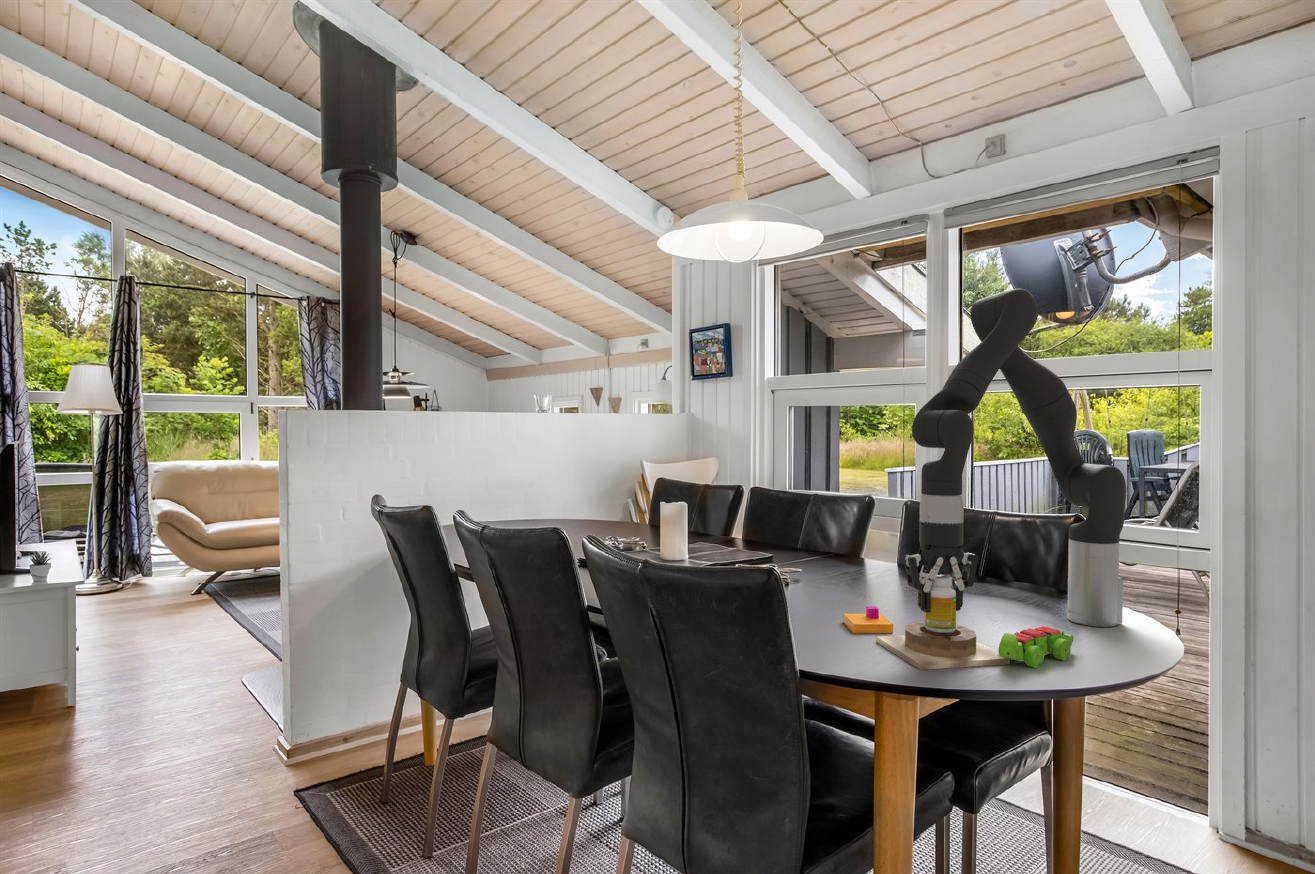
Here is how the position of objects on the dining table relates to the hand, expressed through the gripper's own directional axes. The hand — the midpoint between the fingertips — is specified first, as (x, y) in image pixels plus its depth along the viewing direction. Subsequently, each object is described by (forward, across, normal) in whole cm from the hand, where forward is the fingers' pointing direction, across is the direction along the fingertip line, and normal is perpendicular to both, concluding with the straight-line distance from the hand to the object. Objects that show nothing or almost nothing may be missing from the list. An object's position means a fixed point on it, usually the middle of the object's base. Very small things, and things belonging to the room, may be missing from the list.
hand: (940, 610), depth 136 cm
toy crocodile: (+8, -15, +6) cm, 18 cm away
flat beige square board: (+8, 0, 0) cm, 8 cm away
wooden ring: (+7, 0, 0) cm, 7 cm away
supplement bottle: (+4, 0, 0) cm, 4 cm away
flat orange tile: (+8, +6, -18) cm, 20 cm away
